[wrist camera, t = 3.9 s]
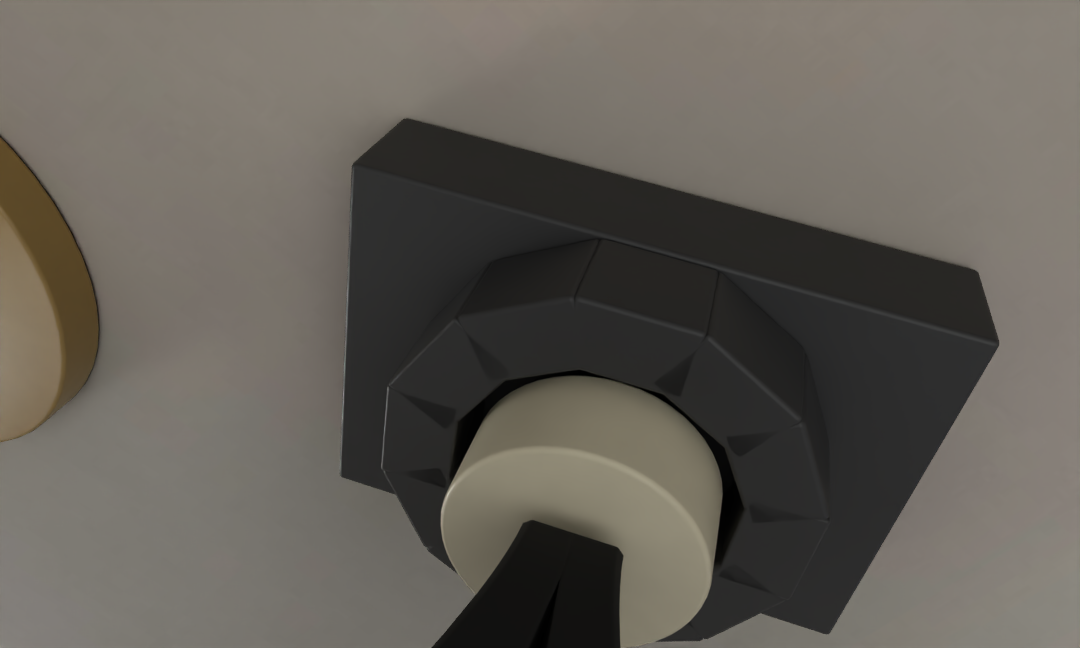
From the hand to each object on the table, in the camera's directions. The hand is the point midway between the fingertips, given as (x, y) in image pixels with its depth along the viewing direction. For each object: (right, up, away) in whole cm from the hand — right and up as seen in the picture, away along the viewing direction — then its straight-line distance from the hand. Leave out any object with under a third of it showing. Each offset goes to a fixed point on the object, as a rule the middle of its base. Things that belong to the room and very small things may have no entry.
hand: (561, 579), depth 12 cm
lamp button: (+1, +1, +2) cm, 2 cm away
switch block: (+1, +3, +5) cm, 6 cm away
